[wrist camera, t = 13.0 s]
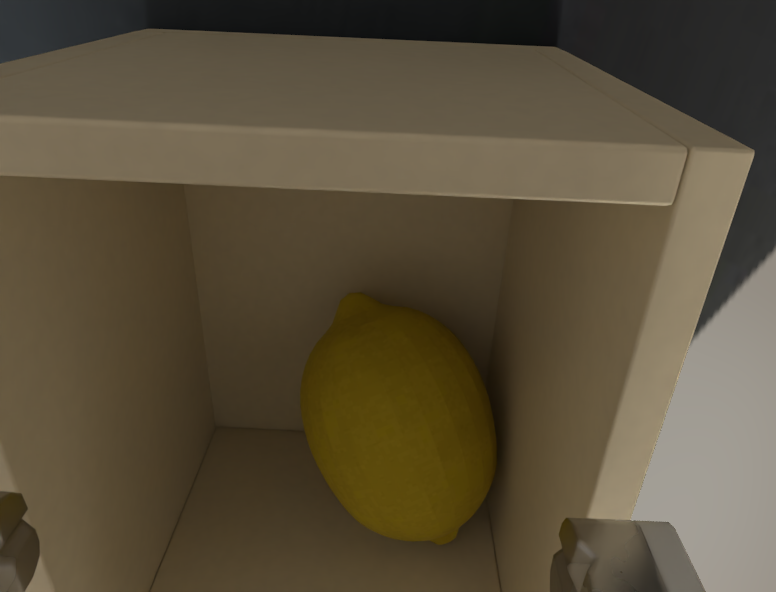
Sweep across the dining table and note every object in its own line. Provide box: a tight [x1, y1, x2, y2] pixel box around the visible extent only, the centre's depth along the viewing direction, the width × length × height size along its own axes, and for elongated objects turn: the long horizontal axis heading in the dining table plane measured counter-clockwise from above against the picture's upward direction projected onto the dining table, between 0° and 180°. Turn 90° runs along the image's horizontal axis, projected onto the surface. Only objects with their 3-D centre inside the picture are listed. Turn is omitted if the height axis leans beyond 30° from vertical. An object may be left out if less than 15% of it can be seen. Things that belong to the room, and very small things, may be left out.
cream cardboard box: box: [0, 29, 754, 592], centre depth 16 cm, size 15×12×11 cm
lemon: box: [300, 292, 497, 545], centre depth 18 cm, size 6×6×8 cm
